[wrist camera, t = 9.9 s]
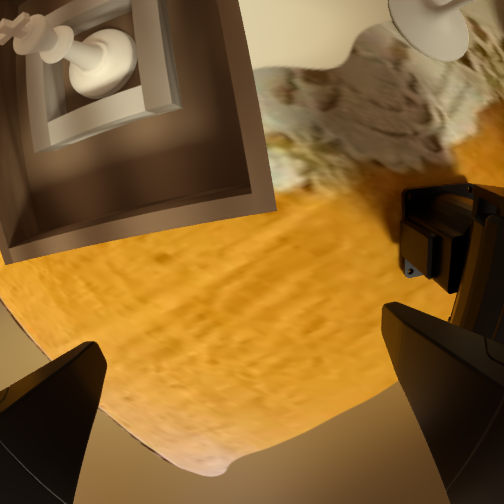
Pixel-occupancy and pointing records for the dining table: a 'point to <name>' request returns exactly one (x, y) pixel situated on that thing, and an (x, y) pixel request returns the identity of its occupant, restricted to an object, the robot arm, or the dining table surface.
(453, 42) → the wineglass
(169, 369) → the dining table surface
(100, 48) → the chess piece
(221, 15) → the walnut box
